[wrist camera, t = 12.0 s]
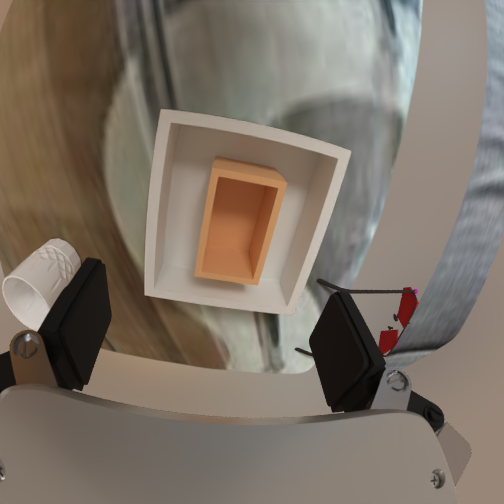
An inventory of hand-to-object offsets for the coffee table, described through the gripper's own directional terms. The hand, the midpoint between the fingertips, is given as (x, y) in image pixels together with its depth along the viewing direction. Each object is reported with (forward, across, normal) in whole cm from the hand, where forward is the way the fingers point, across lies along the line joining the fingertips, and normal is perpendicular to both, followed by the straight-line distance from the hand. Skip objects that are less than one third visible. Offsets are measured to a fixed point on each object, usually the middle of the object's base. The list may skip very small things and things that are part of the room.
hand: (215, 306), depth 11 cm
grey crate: (+19, -2, +3) cm, 20 cm away
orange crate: (+18, -2, +3) cm, 19 cm away
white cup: (+19, +20, +14) cm, 31 cm away
